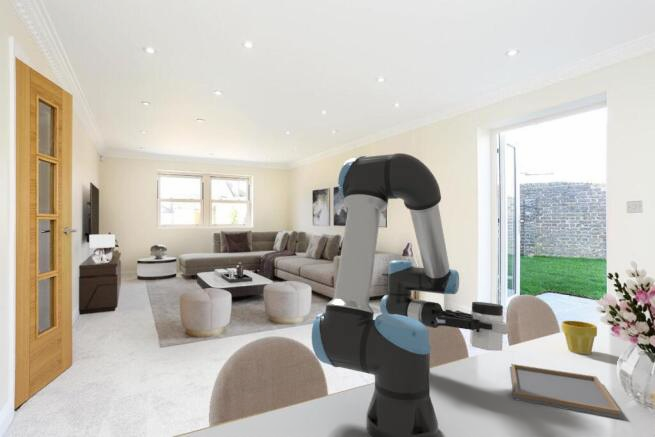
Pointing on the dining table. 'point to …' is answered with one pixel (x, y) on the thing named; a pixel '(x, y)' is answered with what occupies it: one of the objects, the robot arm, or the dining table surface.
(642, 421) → the dining table surface
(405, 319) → the robot arm
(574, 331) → the plant pot
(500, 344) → the jar
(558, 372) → the square tray
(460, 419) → the dining table surface
